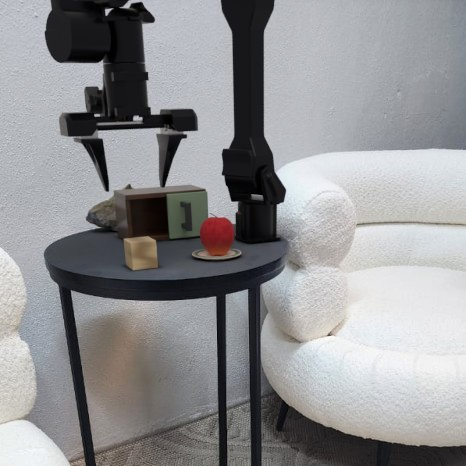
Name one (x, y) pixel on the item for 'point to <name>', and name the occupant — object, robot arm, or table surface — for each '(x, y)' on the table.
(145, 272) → the table surface
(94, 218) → the rock
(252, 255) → the table surface
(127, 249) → the block
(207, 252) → the apple
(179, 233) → the sliding door
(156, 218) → the cabinet
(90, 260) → the table surface
